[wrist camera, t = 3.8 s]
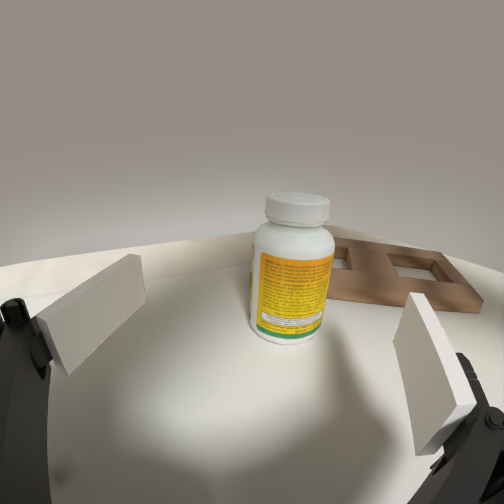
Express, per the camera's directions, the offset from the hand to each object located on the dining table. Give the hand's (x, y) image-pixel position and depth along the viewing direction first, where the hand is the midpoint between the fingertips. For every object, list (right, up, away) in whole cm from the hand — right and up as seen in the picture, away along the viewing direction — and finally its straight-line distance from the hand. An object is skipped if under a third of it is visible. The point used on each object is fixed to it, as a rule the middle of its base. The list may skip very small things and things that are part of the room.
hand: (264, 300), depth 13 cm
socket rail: (+13, 0, +17) cm, 21 cm away
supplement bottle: (+2, -3, +8) cm, 9 cm away
